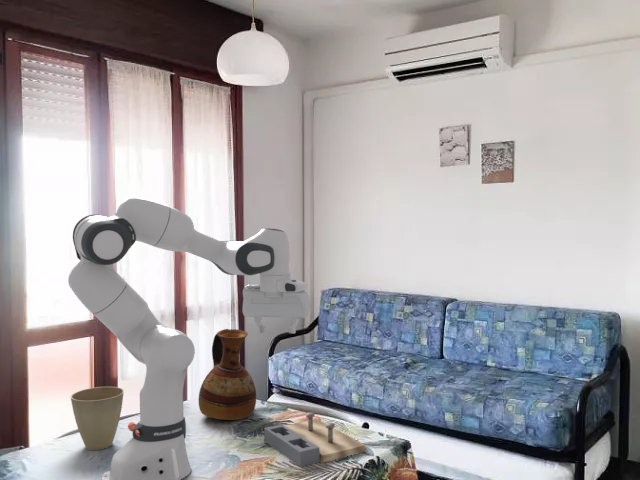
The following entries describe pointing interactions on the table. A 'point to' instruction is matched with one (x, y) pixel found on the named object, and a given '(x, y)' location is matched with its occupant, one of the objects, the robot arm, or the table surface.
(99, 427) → the plant pot
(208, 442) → the table surface
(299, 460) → the block
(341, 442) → the board
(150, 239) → the robot arm
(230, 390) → the ceramic pitcher
